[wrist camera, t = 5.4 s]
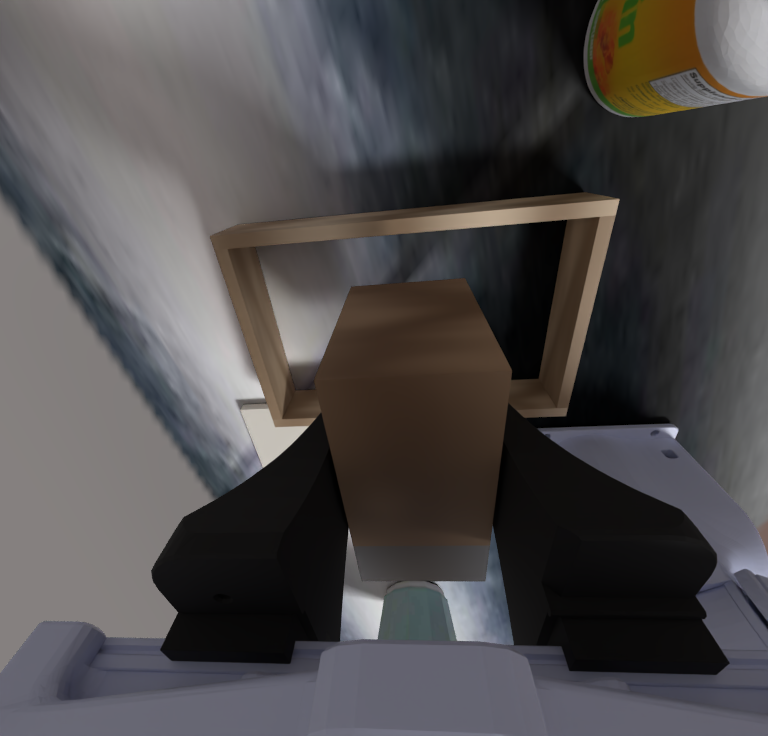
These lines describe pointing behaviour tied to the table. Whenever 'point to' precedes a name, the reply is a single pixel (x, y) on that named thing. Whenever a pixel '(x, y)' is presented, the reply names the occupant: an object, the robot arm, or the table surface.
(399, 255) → the table surface
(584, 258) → the frame
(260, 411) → the pad
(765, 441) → the table surface
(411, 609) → the disposable coffee cup
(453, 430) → the block
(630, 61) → the supplement bottle
